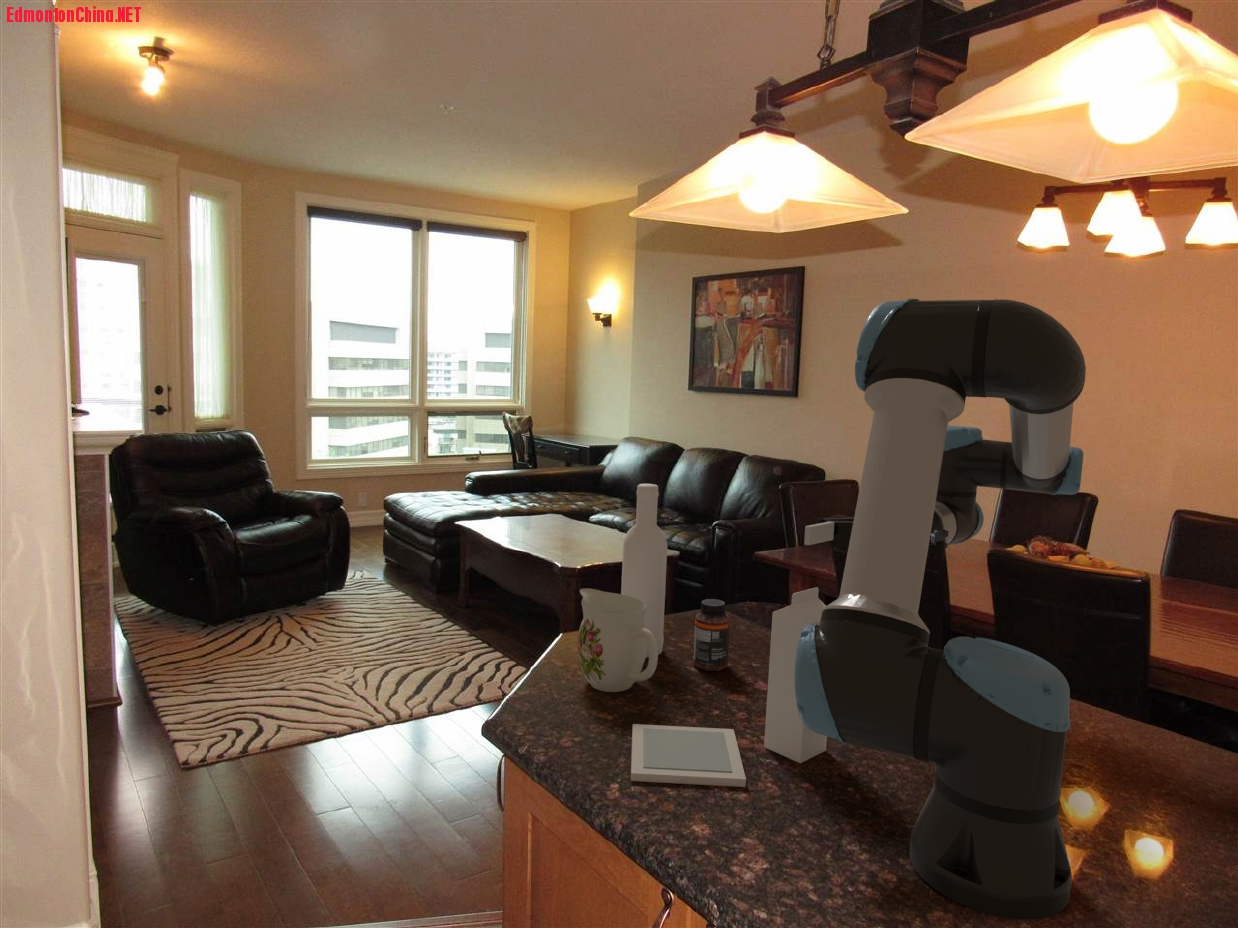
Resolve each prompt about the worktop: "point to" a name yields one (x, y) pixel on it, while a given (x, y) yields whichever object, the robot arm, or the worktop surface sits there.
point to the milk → (790, 680)
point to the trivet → (686, 755)
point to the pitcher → (614, 641)
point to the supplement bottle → (711, 636)
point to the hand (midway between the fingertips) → (848, 544)
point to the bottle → (646, 562)
